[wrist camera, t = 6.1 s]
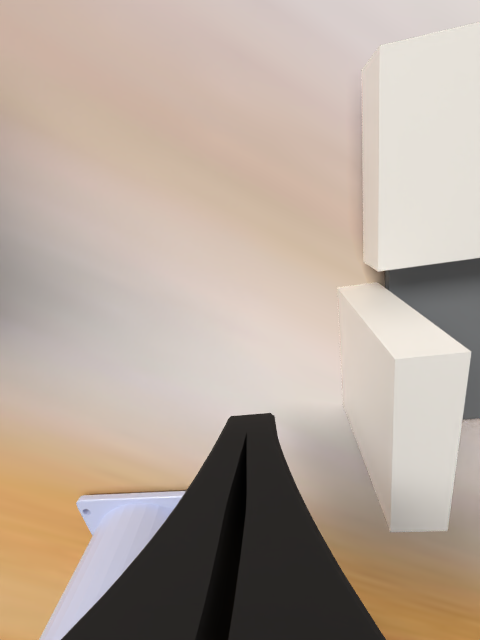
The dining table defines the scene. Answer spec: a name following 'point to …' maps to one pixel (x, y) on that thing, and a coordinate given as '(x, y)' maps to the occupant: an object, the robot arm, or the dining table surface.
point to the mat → (447, 309)
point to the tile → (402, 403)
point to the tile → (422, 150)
